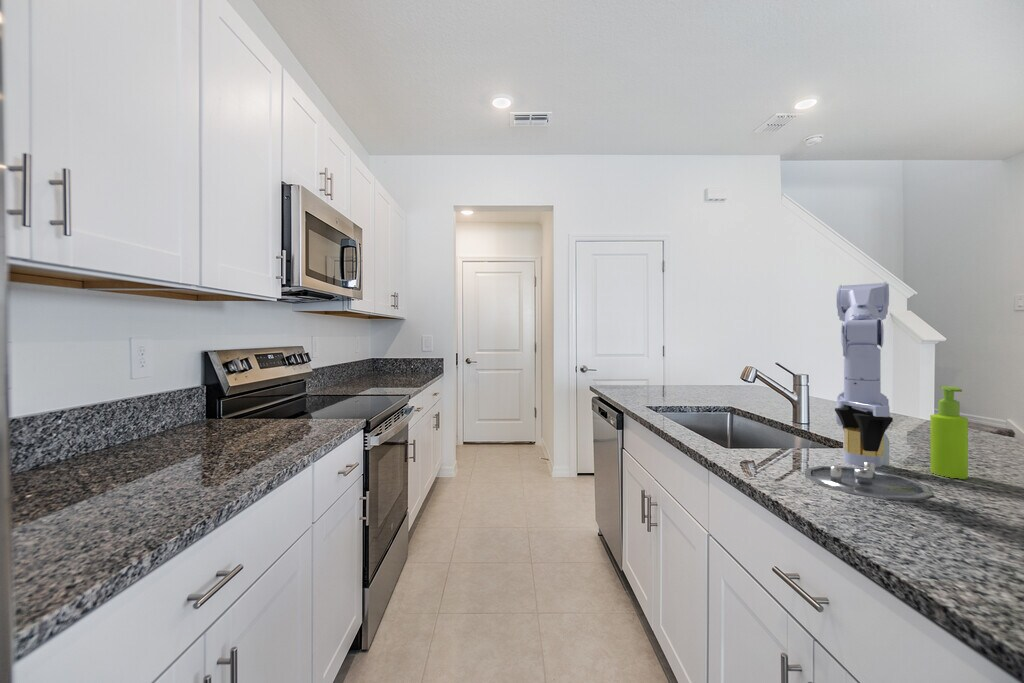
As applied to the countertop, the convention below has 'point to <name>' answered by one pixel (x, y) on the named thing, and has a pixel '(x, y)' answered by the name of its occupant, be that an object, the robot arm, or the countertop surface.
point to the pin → (836, 474)
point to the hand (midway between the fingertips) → (861, 446)
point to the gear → (859, 443)
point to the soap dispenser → (949, 437)
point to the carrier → (870, 483)
